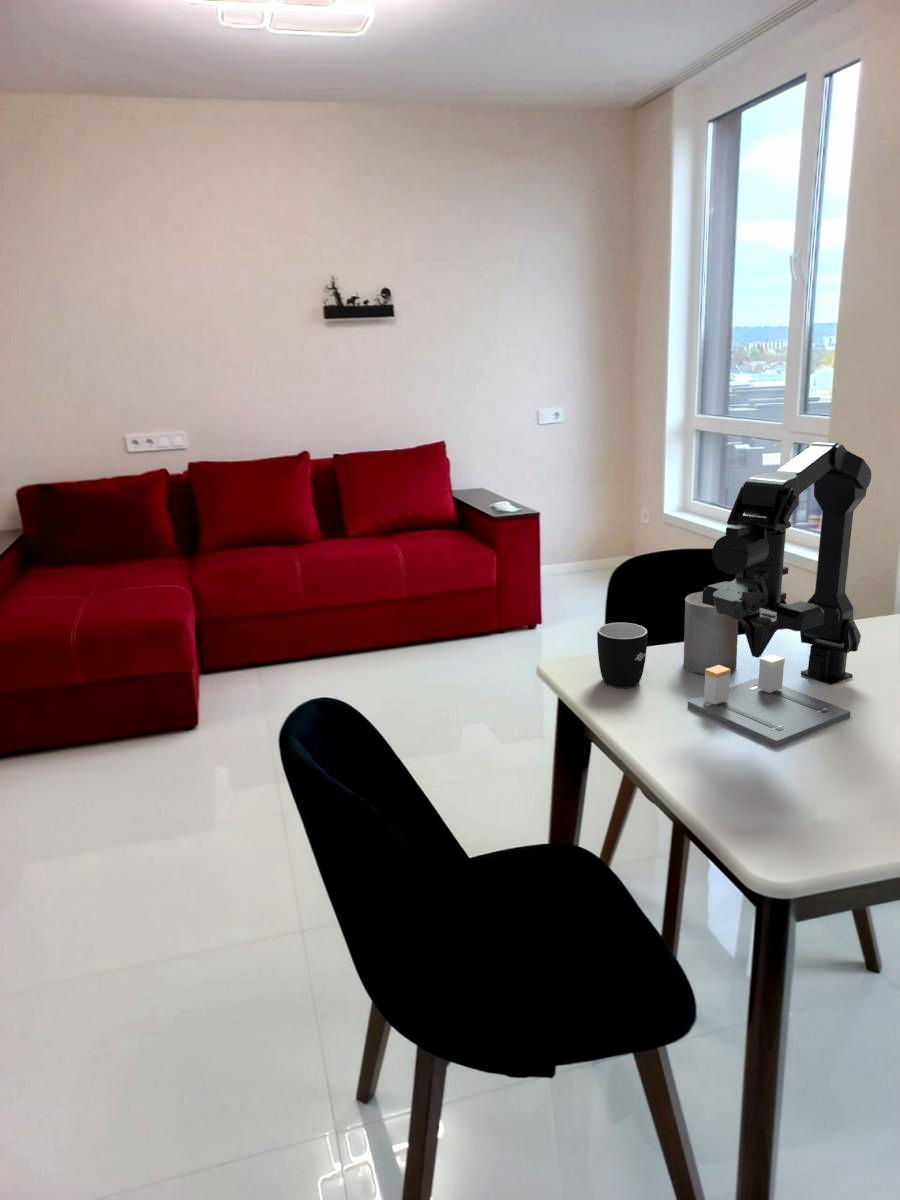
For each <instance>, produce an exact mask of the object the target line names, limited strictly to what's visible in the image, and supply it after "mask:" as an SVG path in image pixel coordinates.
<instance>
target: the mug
mask: <svg viewBox="0 0 900 1200" xmlns="http://www.w3.org/2000/svg"><path fill="white" fill-rule="evenodd" d="M596 632H597V633H596V638H597V641H596V644H597V654H598V655H597V656H598V663H599V664H598V665H599V671H600V675H601V678H602V680H603V681H604V684H606V685H607V686H609V687H612V688H616V689H628V688H634V687H636V686H637V685H638V684H639V683H640V681H641V679H642V676H643V674H644V670H645V662H646V659H647V658H646V657H647V648H648V630H647V628H645V627H644V626H642V625H639V624H636V623H630V622H611V623H607V624H603V625H600V626H599V627H598V628H597V631H596Z"/></svg>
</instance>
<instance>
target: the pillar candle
mask: <svg viewBox="0 0 900 1200" xmlns="http://www.w3.org/2000/svg"><path fill="white" fill-rule="evenodd" d="M702 594H703V591H698V592H693V593H692V592H691V593H690V594H688V595H686V597H685V598H684V602H685V603H684V631H683V632H684V634H683V635H684V636H683V643H684V644H683V667H684V668H685V669H686V670H687V671H688V672H691V673H694V674H695V673H696V674H702V675H705V669H707V668H711V667H714V666H717V665H721V666H723V667H726V668H729V669H731V672H730V674H731V673H733V672H734V671H736V668H737V662H738V661H737V658H738V637H739V636H738V635H739V634H738V633H739V632H738V631H739V621H738V620H737V619H736V618H732V617H731V616H729V615H726V614H719V613H717V611H716V606H715V607H714V606H711V605H707V604H704V603H702Z"/></svg>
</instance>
